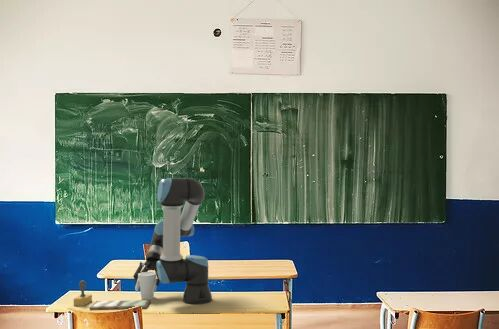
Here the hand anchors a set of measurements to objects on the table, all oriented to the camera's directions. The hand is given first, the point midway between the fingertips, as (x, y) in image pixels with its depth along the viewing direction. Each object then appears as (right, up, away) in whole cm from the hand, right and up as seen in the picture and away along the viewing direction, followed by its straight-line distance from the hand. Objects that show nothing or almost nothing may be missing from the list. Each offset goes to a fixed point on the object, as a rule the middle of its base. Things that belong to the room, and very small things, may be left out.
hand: (145, 290), depth 293 cm
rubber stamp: (-31, -6, -6) cm, 32 cm away
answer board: (-10, -5, -12) cm, 17 cm away
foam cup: (+1, -5, +3) cm, 6 cm away
